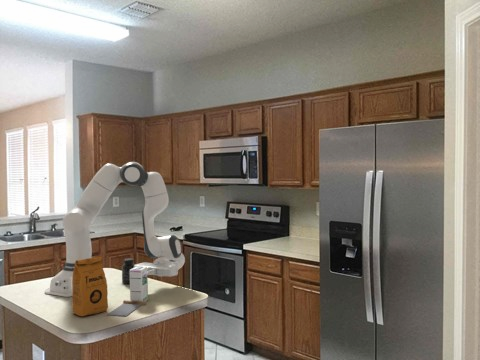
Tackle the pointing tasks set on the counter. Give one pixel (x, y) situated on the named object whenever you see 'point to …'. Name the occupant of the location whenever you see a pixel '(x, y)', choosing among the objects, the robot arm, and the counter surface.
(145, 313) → the counter surface
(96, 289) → the coffee package
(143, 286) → the syrup box
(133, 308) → the mat
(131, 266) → the supplement bottle
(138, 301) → the brown block
